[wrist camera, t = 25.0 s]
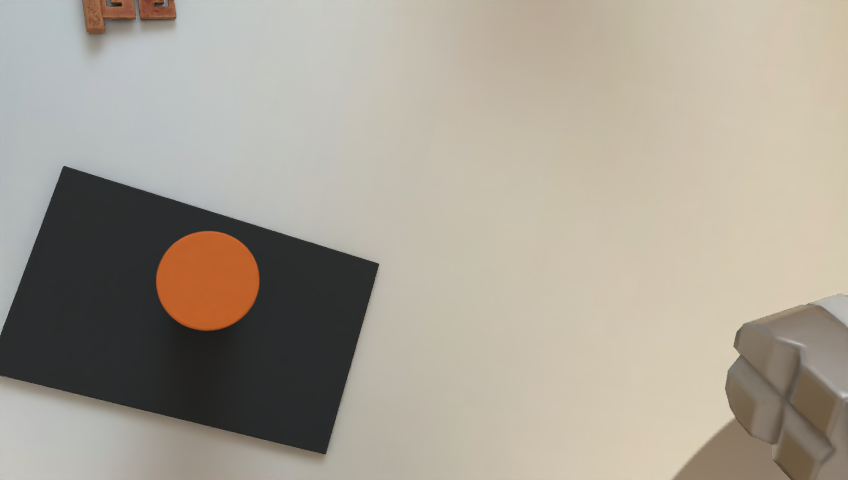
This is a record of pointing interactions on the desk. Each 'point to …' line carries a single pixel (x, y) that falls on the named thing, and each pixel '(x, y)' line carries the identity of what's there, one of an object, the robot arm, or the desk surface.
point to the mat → (173, 342)
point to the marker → (207, 280)
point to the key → (123, 12)
